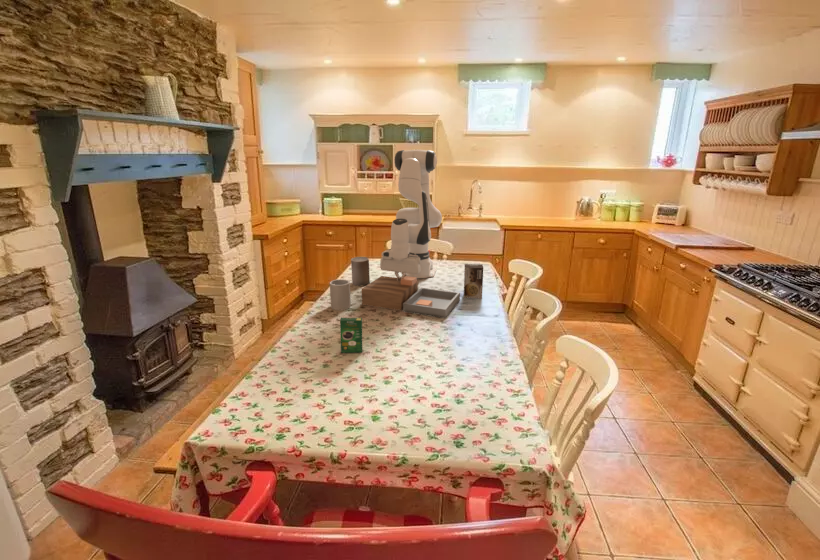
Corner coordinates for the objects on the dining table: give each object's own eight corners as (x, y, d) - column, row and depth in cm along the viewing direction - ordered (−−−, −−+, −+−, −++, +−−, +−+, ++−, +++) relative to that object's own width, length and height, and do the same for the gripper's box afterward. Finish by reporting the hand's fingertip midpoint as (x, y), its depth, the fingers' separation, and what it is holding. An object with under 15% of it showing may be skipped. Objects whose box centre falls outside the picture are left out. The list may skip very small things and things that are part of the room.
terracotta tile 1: (432, 301, 196) (432, 306, 197) (420, 299, 198) (420, 304, 199) (428, 305, 191) (427, 310, 192) (415, 303, 193) (415, 308, 194)
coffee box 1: (363, 349, 157) (362, 316, 153) (363, 353, 155) (362, 319, 151) (341, 349, 157) (339, 317, 153) (340, 353, 154) (339, 320, 150)
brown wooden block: (381, 290, 221) (381, 275, 218) (417, 295, 214) (417, 280, 211) (362, 304, 201) (361, 288, 199) (400, 310, 194) (400, 294, 192)
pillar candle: (371, 280, 237) (370, 254, 232) (368, 286, 227) (366, 259, 223) (354, 280, 238) (352, 254, 233) (350, 285, 228) (348, 258, 224)
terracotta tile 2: (405, 280, 211) (405, 276, 210) (416, 282, 208) (416, 277, 208) (400, 284, 205) (400, 279, 205) (412, 285, 203) (412, 280, 202)
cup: (346, 310, 194) (345, 286, 190) (328, 309, 195) (326, 284, 192) (353, 303, 202) (352, 280, 199) (335, 302, 204) (334, 278, 200)
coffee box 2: (481, 294, 215) (483, 264, 210) (482, 299, 209) (483, 267, 204) (463, 294, 216) (464, 263, 211) (463, 298, 210) (464, 267, 205)
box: (421, 295, 214) (421, 287, 213) (459, 300, 207) (459, 292, 206) (403, 311, 193) (403, 303, 192) (445, 318, 186) (445, 309, 185)
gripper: (422, 253, 203) (422, 281, 207) (384, 249, 210) (384, 276, 215) (417, 256, 198) (417, 284, 202) (378, 252, 205) (378, 279, 209)
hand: (400, 280), depth 208 cm, fingers closed
